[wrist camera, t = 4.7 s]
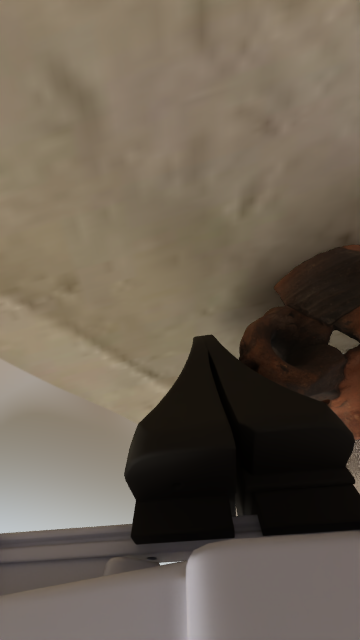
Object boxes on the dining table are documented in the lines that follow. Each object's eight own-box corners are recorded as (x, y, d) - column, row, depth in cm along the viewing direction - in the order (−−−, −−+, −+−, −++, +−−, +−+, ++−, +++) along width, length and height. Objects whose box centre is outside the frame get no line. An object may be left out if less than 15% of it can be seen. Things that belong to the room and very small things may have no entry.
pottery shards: (416, 226, 10) (683, 350, 6) (310, 323, 18) (388, 413, 13) (227, 238, 8) (433, 490, 3) (195, 347, 15) (240, 470, 10)
